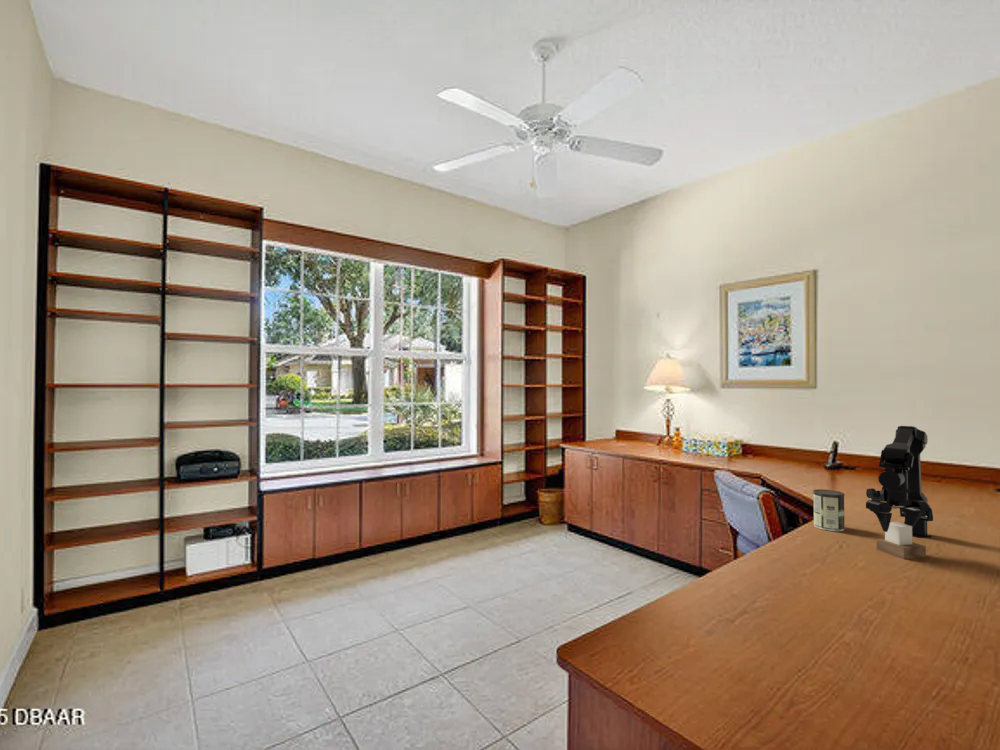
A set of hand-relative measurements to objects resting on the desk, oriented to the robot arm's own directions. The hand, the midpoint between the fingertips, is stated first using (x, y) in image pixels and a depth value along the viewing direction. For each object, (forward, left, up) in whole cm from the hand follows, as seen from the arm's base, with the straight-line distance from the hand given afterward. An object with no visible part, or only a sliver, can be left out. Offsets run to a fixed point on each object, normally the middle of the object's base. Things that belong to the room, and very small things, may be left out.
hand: (897, 531), depth 160 cm
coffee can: (0, -28, -8) cm, 29 cm away
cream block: (0, 0, -4) cm, 4 cm away
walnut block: (-1, +1, -8) cm, 8 cm away
